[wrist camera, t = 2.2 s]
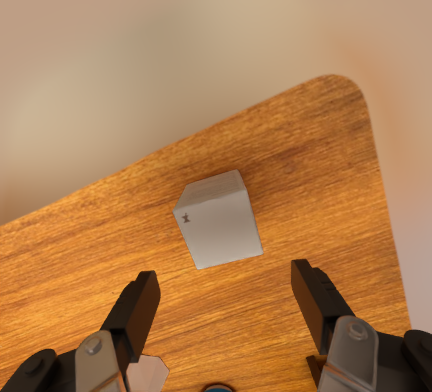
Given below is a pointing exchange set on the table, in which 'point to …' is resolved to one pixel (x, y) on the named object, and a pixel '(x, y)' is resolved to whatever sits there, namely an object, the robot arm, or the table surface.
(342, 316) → the robot arm
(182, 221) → the product box
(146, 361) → the figurine
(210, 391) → the beverage can
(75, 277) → the table surface
